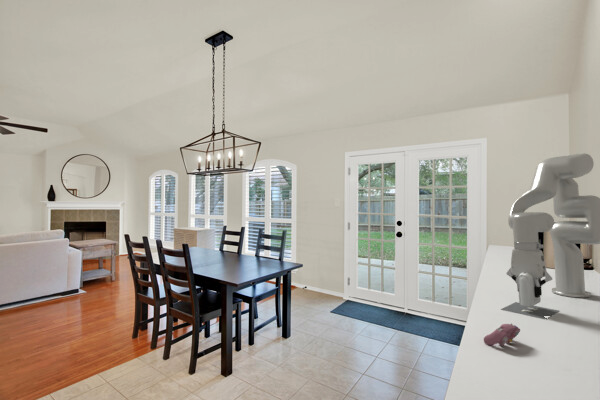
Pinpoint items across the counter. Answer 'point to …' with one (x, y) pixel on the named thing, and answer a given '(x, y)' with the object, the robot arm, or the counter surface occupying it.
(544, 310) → the dark gray panel
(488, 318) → the counter surface
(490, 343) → the video game controller
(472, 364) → the counter surface
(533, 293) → the photo printer
